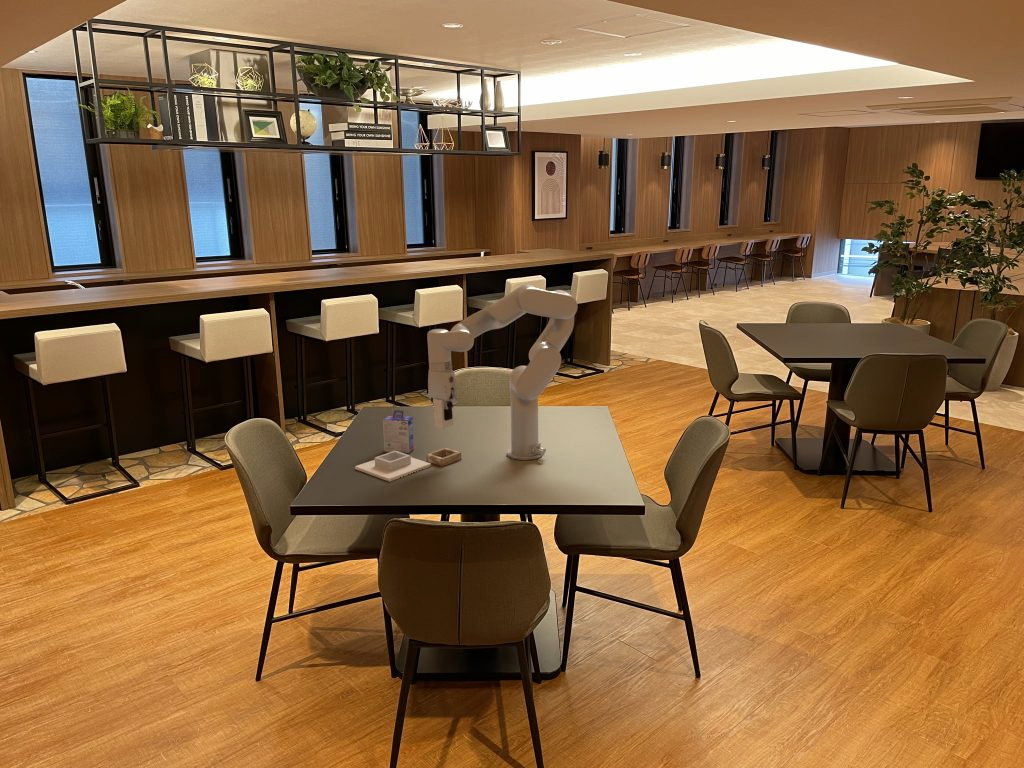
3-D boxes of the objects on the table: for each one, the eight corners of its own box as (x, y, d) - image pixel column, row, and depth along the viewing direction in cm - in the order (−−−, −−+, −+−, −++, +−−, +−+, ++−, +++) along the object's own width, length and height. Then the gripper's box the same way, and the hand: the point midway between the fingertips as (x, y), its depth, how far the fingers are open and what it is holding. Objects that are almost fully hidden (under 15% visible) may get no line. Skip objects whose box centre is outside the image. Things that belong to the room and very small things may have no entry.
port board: (431, 466, 262) (430, 455, 261) (389, 481, 249) (388, 470, 248) (396, 454, 274) (395, 444, 273) (355, 469, 261) (354, 457, 260)
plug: (453, 425, 265) (451, 394, 262) (442, 428, 262) (440, 397, 259) (445, 423, 268) (443, 392, 265) (434, 426, 264) (432, 395, 261)
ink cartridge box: (415, 448, 280) (413, 410, 277) (410, 453, 275) (408, 414, 271) (389, 447, 282) (387, 409, 279) (383, 452, 277) (381, 413, 273)
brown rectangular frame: (461, 459, 268) (461, 452, 268) (442, 466, 262) (442, 459, 261) (445, 454, 274) (445, 447, 273) (426, 461, 267) (426, 454, 266)
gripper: (466, 367, 257) (468, 419, 261) (431, 361, 268) (435, 411, 272) (449, 371, 251) (452, 425, 256) (415, 365, 262) (419, 416, 267)
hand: (443, 417), depth 264 cm, fingers closed on plug, 4 cm apart
